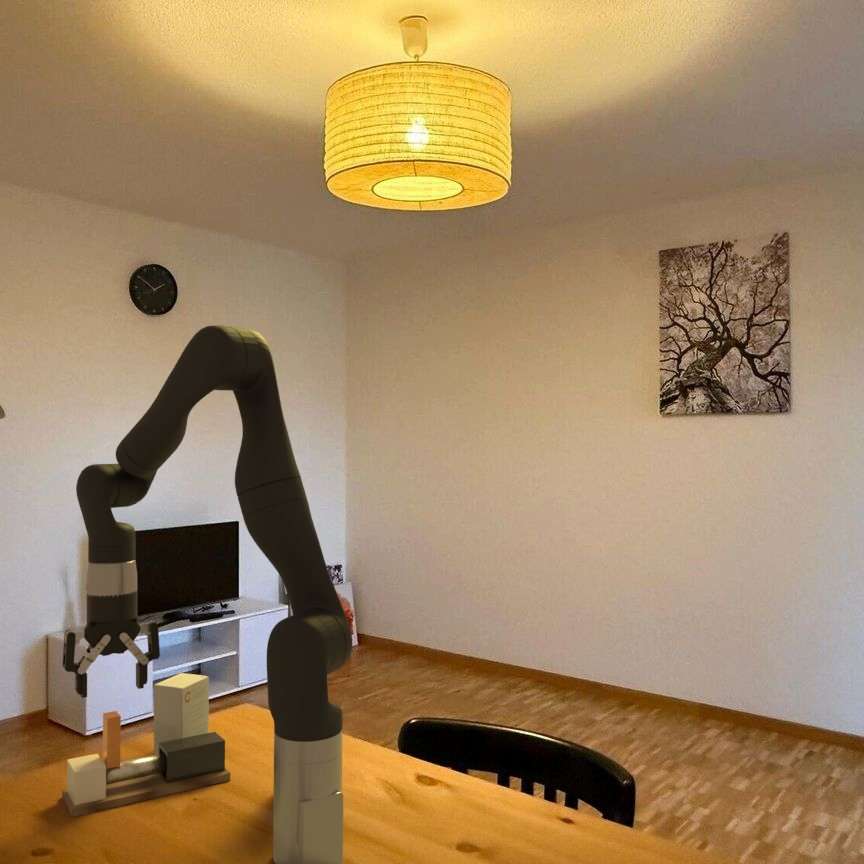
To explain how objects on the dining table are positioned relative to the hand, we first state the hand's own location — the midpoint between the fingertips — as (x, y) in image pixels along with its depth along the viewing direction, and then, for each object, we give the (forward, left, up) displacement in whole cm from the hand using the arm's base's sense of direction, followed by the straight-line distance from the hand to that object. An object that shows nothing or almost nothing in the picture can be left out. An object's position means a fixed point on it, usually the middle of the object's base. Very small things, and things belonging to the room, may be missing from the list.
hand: (112, 691), depth 131 cm
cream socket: (0, +4, -15) cm, 16 cm away
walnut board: (0, -6, -17) cm, 18 cm away
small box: (+13, -15, -17) cm, 26 cm away
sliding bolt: (0, -3, -14) cm, 15 cm away
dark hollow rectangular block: (0, -13, -15) cm, 20 cm away
